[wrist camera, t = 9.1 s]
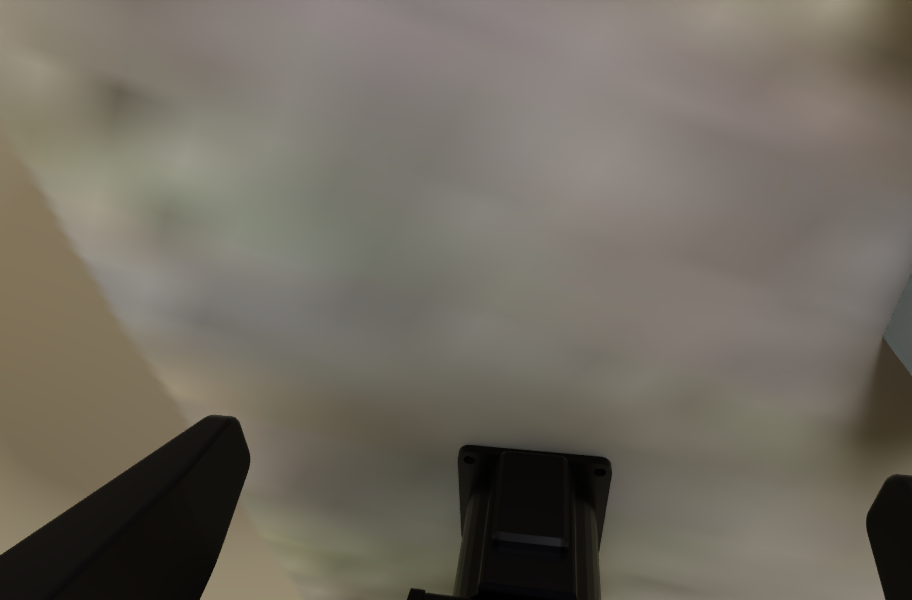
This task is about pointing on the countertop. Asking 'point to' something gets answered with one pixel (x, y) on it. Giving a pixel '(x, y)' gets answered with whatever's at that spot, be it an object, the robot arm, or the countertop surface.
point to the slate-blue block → (902, 328)
